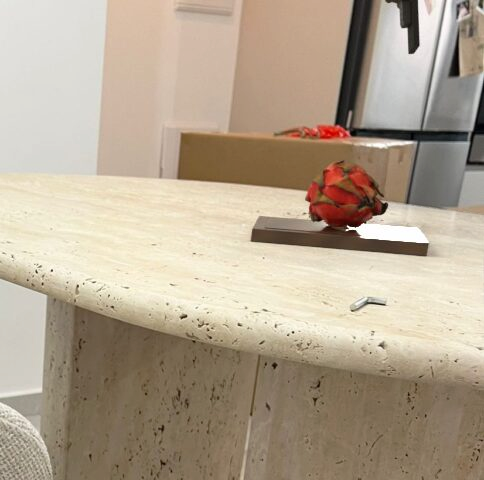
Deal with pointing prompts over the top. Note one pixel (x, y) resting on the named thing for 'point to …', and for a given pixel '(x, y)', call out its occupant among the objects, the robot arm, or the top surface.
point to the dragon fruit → (344, 196)
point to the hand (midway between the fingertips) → (465, 46)
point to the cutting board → (340, 236)
